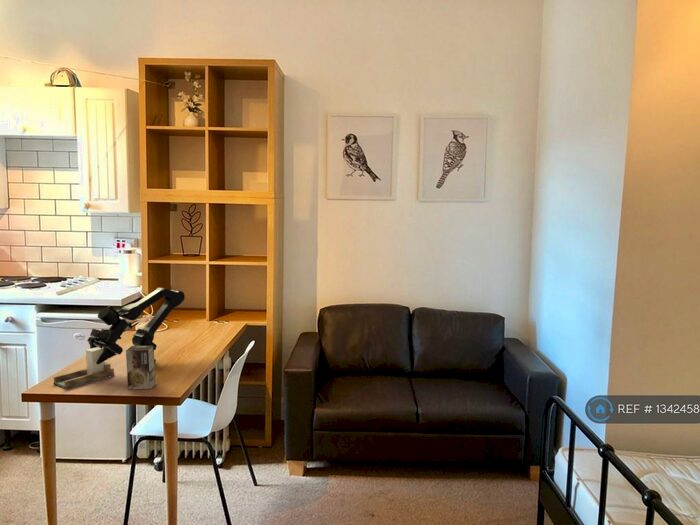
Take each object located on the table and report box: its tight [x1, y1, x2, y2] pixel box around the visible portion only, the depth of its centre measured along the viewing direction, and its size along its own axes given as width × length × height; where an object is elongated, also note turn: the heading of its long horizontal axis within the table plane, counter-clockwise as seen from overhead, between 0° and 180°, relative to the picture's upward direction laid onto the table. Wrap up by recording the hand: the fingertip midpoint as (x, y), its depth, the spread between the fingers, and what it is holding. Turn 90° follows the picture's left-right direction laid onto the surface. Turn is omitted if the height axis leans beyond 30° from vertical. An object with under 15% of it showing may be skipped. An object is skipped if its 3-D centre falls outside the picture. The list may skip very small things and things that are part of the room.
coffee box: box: [125, 345, 156, 390], centre depth 204 cm, size 9×6×16 cm
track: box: [53, 361, 115, 390], centre depth 212 cm, size 20×10×5 cm, turn 146°
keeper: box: [85, 347, 105, 375], centre depth 215 cm, size 5×4×11 cm
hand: (91, 362), depth 214 cm, fingers open, 7 cm apart
